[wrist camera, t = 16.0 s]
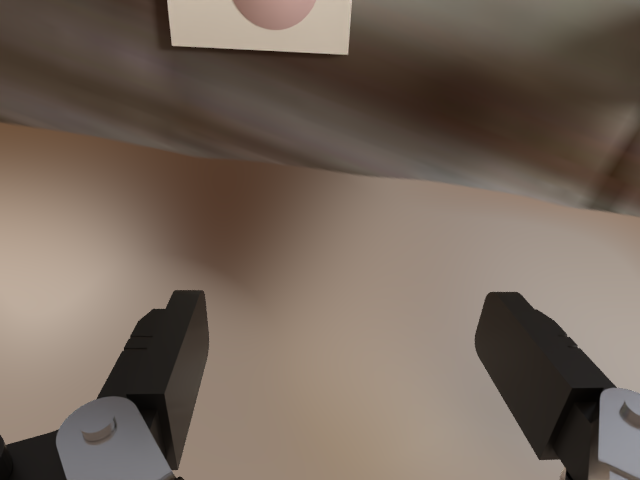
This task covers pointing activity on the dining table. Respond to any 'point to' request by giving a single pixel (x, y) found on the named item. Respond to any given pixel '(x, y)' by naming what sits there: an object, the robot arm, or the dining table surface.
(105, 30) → the dining table surface
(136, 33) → the dining table surface
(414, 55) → the dining table surface
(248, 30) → the picture board
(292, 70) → the dining table surface
